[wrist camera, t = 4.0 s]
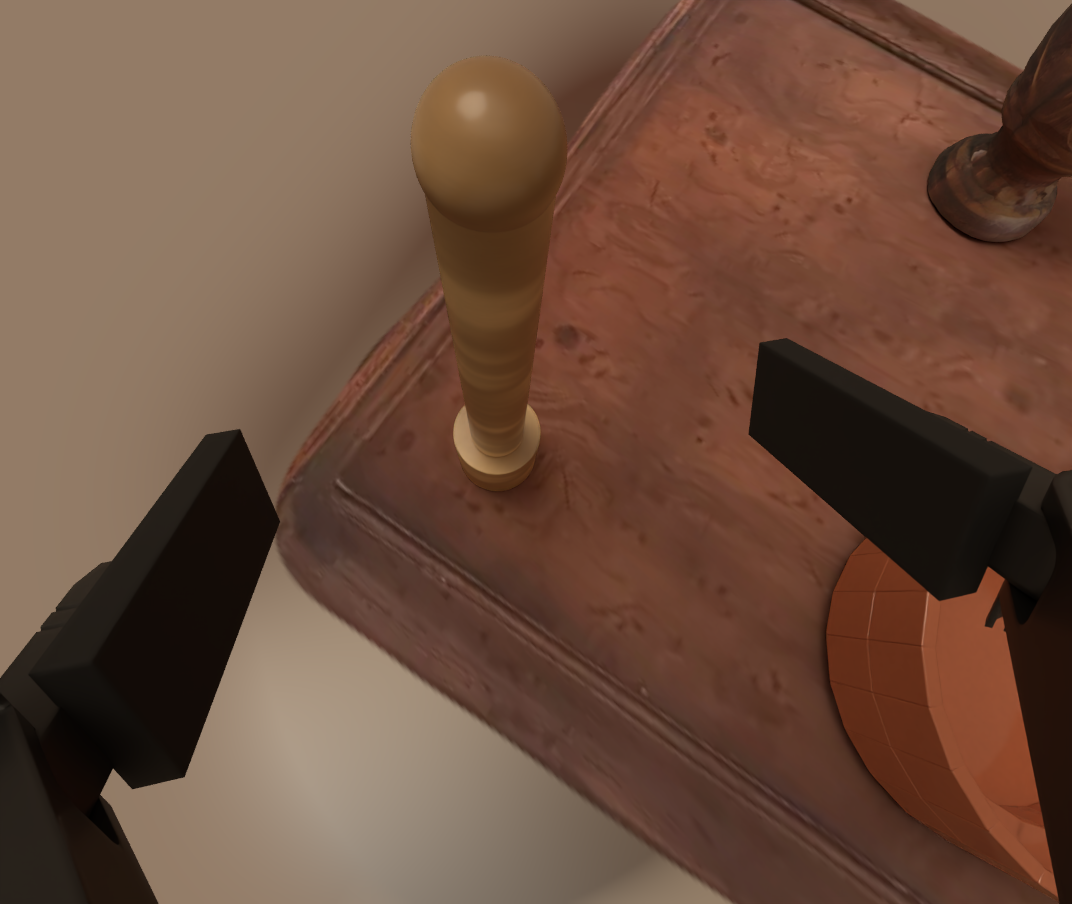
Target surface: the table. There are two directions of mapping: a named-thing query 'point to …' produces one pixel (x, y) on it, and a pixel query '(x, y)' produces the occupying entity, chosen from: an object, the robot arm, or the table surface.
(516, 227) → the muddler
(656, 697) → the table surface
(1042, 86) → the mortar and pestle
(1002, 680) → the mixing bowl
